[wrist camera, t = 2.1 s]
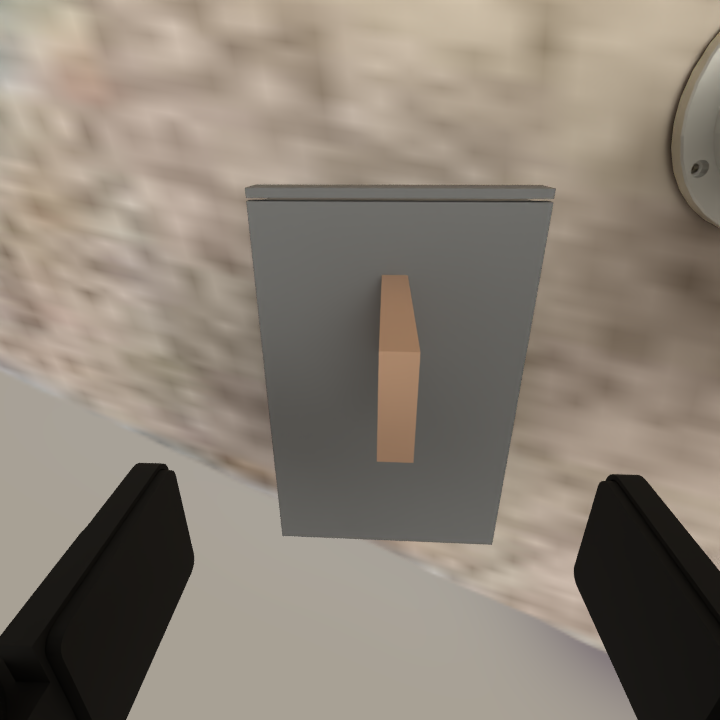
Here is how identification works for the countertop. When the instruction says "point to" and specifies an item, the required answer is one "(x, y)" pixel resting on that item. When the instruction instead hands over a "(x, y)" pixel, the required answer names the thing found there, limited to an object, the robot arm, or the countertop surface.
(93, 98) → the countertop surface
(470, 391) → the lid
